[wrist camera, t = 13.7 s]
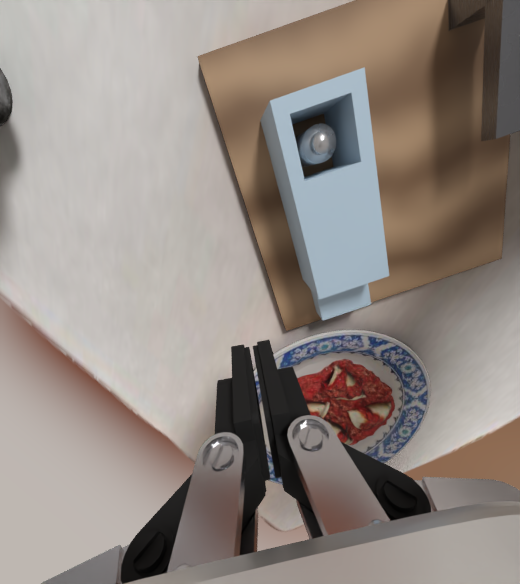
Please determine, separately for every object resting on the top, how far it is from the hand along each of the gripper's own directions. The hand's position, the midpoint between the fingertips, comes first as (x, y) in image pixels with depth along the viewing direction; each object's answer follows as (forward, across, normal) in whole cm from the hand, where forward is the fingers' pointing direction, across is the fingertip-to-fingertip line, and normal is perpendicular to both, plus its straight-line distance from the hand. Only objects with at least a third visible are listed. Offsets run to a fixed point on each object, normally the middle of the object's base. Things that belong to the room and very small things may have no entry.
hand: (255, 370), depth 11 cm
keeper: (+14, -20, -13) cm, 28 cm away
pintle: (+15, -7, -10) cm, 19 cm away
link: (+14, -8, -4) cm, 17 cm away
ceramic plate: (+16, -8, +21) cm, 27 cm away
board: (+15, -14, -7) cm, 22 cm away
